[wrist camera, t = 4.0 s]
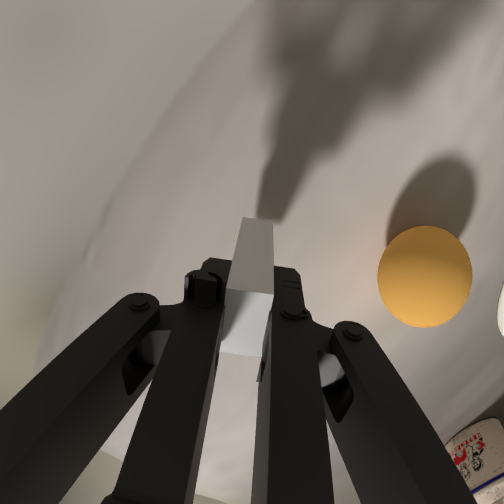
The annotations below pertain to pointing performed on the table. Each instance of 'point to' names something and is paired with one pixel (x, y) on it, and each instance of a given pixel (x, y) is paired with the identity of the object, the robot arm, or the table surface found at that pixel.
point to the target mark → (501, 311)
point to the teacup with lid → (481, 459)
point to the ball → (424, 276)
